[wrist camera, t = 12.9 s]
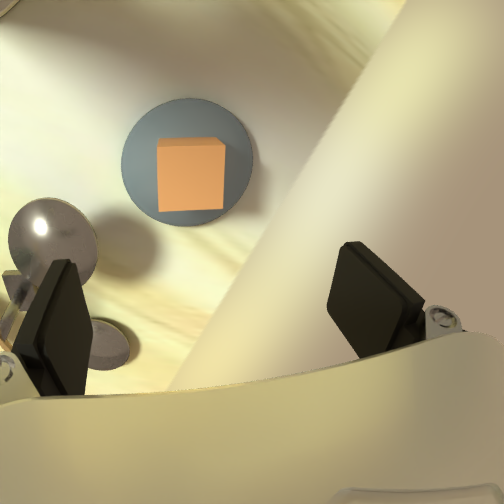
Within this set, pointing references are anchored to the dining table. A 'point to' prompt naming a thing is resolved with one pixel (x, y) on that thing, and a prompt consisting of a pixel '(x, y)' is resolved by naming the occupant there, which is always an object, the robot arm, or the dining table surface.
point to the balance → (39, 260)
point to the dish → (178, 126)
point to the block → (190, 173)
